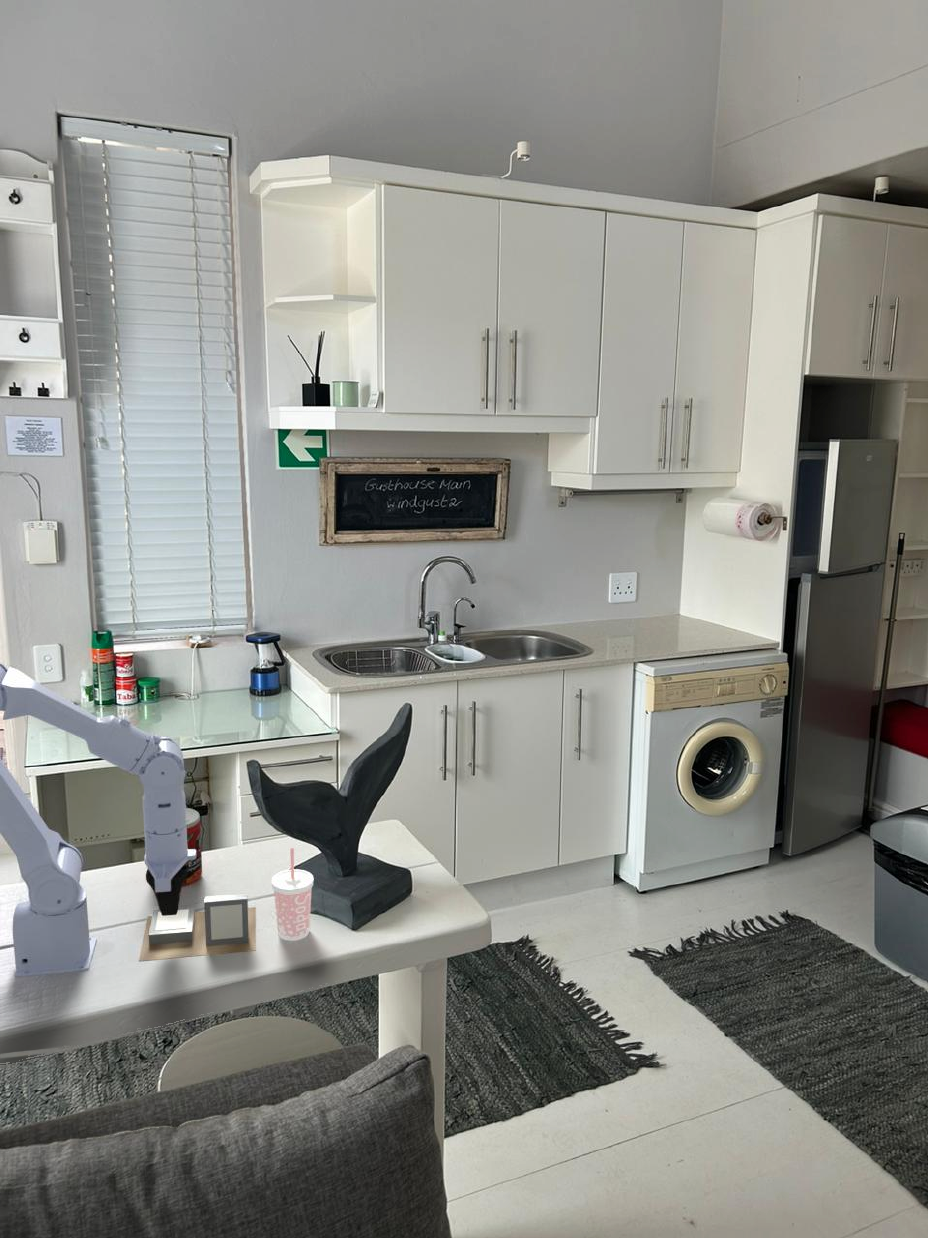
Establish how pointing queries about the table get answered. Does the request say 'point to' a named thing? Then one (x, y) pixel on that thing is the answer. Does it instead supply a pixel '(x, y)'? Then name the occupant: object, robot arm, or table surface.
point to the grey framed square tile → (172, 926)
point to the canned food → (193, 846)
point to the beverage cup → (293, 901)
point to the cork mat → (196, 942)
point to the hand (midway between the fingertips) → (169, 913)
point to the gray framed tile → (226, 919)
